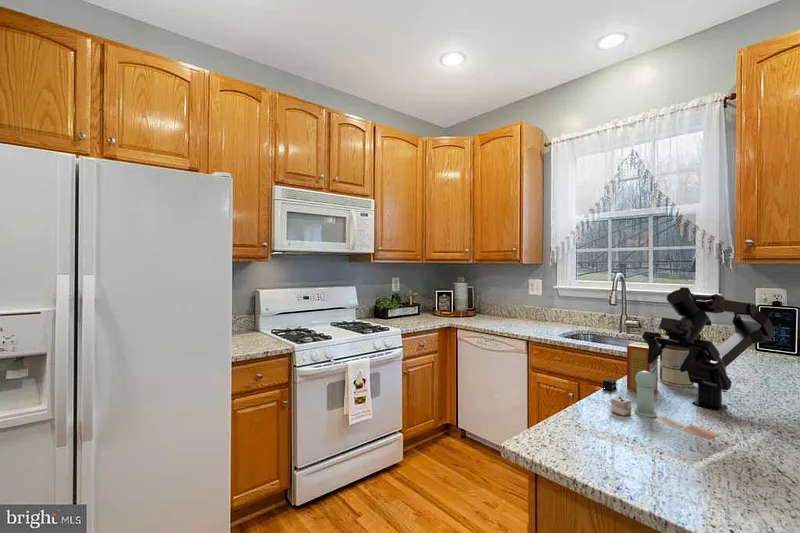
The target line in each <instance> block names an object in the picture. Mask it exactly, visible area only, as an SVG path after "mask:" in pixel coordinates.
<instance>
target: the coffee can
mask: <svg viewBox="0 0 800 533" xmlns="http://www.w3.org/2000/svg"><path fill="white" fill-rule="evenodd" d="M662 351H663V352H662V353H661V354H660V355H659V382H660V383H663V384H665V385H668V386H674V387H681V388H693V387H694V386H695V383H693V382H690V380H689V376H688V372H687V371H685V372H681V371H680V367H681V365H682V364H683V362H684V360H685V359H686V357H687V356H688V354H689V350H686V349H681V348H677V347H673V346H668V345H666V347H665V348H664V349H662Z"/></svg>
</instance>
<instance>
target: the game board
mask: <svg viewBox="0 0 800 533" xmlns="http://www.w3.org/2000/svg"><path fill="white" fill-rule="evenodd" d="M610 401H611V402H610V406H611V407H610V408H611V409H610V410H611V413H612V414H614V415H616V416H619V417H630V416H632V415H635V416H639V417H641V418H645V419H647V420H649V421H653V422H655V423H659V424H662V425H665V426H668V427H671V428H673V429H676V430H680V431H683V432H685V433H688V434H691V435H694V436H697V437H700V438H703V439H706V440H708V441H709V440H711V439H713V438H715V437H718V436H720V435H721V434H720V433H718V432H715V431H711V430H708V429H705V428H701V427H699V426H696V425H693V424H692V425H690V423H686V422H683V421H680V420H678V419H675V418H671V417H667V416H663V415H662V414H658V413H657V416H656V417H654V418H649V417H643V416H640V415H637V414H635V412H634V410H632V400H631V399H627V398H624V397H621V396H617V397H616V396H615V397H613V398H611V399H610Z"/></svg>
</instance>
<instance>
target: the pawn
mask: <svg viewBox="0 0 800 533" xmlns="http://www.w3.org/2000/svg"><path fill="white" fill-rule="evenodd" d="M635 380H636V383H637V391H636V407H634V410H633V411H634V412H635V414H637V415H640V416H643V417H649V418H654V417H656V416H657V414H658V413H657V412H656V411H655V393H654V387H653V386H654V385H655V383H656V379H655V377H654V375H653V374H652V373H650V372H648V371H640V372H638V373H637V374H636V377H635ZM637 415H636V416H637ZM640 416H639V417H640ZM643 417H642V418H643Z"/></svg>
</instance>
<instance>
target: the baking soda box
mask: <svg viewBox="0 0 800 533" xmlns="http://www.w3.org/2000/svg"><path fill="white" fill-rule="evenodd" d="M648 352H649V345H648V344H647V343H646V342H641V341H640V342H639V341H635V342H632V343H630V344H627V345H626V390H631V391H635V392H637V383H636V380H635V377H636V374H637V373H638V372H640V371H648V372H650V373H652V374H653V375H654V377H655V379H656V383H655V385H654V386H653V387H654V394H655V393H656V392H658V386H659V384H658V378H659V377H658V374H659V373H658V371H659V370H658V368H659V367H658V366H659V365H658V360H659V359H658V358H659V357H658V358H657V359H656V360H655V361H654V362H653V363H651V364H648V362H647V360H648Z"/></svg>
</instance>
